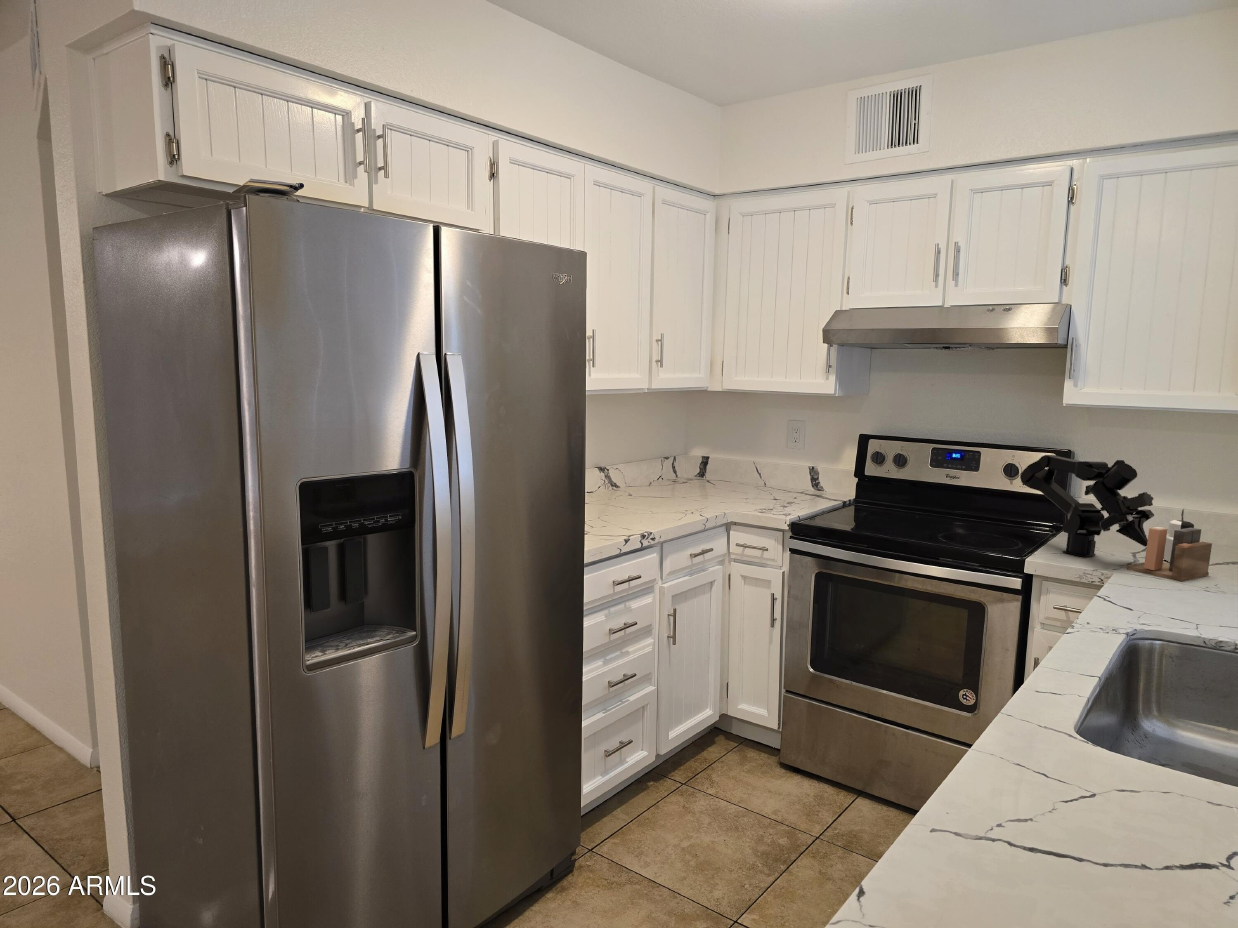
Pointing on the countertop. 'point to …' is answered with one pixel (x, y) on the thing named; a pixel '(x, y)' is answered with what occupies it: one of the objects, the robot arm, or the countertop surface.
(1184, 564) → the brown wooden book holder
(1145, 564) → the orange rectangular block
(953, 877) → the countertop surface
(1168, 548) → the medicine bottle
